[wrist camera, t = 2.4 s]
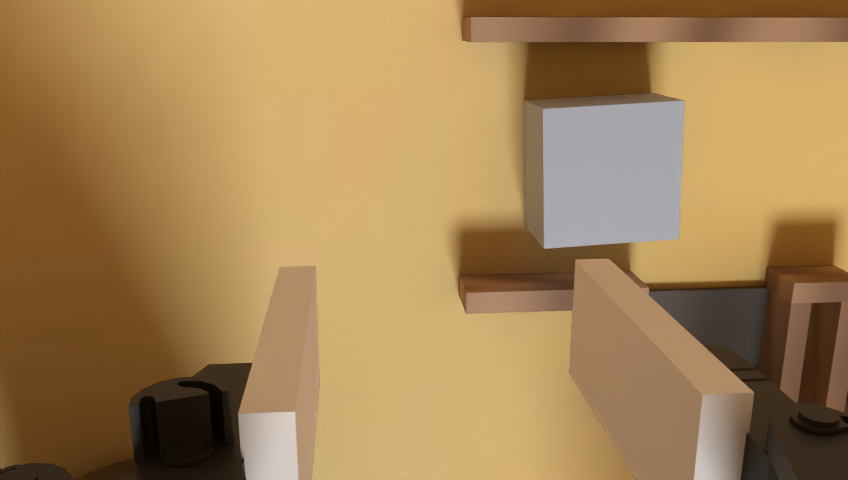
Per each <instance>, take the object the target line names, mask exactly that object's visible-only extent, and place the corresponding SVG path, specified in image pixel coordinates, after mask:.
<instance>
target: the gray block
mask: <svg viewBox="0 0 848 480" xmlns="http://www.w3.org/2000/svg"><path fill="white" fill-rule="evenodd" d="M523 104H524V177H525V227H526V228H527V229H528V231H529V232H530V233H531V234H532V235H533V236H534V238H535V239H536V240H537V241H538V242H539V243H540V245H541V246H542V247H543V248H544V249H548V248H562V247H575V246H589V245H603V244H616V243H630V242H644V241H658V240H671V239H679V224H680V199H681V175H682V150H683V125H684V100H680V99H676V98H671V97H667V96H663V95H659V94H654V93H637V94H620V95H603V96H586V97H569V98H552V99H534V100H523Z"/></svg>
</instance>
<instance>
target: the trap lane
mask: <svg viewBox="0 0 848 480" xmlns="http://www.w3.org/2000/svg"><path fill="white" fill-rule="evenodd" d="M462 41H467V42H848V18H756V17H463V40H462ZM623 272H624V273H625V274H626V275H627V276H628V277H629V278H631V279H632V280H633V281H634V282H635V283H636V284H637V285H638V286H639V287H640V288H641V289H642V290H644V291H645V292H646V293H647V294H648V295H649V296H650V297H651V298H652V299H653V300H654V301H655V302H657V303H658V304H659V305H660V306H661V307H662V308H663V309H664V310H665V311H666V312H667V313H668V314H670V315H671V316H672V317H673V318H674V319H675V320H676V321H677V322H678V323H679V324H680V325H681V326H683V327H684V328H685V329H686V330H687V331H688V332H689V333H690V334H691V335H692V336H693V337H694V338H696V339H697V340H698V341H699V342H700V343H701V344H702V345H711V344H717V345H719V346H721V347H723V348H726V349H728V350H730V351H732V352H734V353H737V354H739V355H741V356H742V357H743V358H744V359H745V360H746V361H748V362H749V363H750V364H751V365H752V366H753V367H754V368H755V371H756V370H758V371H759V372H760V373H761V374H763V375H764V376H765V377H766V378H767V381H771V382H772V383H773V384H774V385H775V386H777V387H778V388H779V389H780V390H781V391H782V392H784V393H785V394H786V395H787V396H788V397H789V398H791V399H792V400H793V401H794V402H795V403H808V404H814V405H820V406H826V407H829V408H832V409H835V410H838V411H841V412H844V413H846V414H848V273H847V272H846V271H844V270H842V269H840V268H838V267H836V266H801V267H767V273H766V281H765V286H761V287H727V288H693V289H659V290H649V287H648V286H647V285H646V284H645V283H644V282H642V281H641V280H640V279H639V278H638V277H637V276H636V275H635V274H633V273H632V272H631V271H623ZM574 277H575V273H543V274H506V275H469V276H459V297H460V299H461V302H462V304H463V307H464V309H465V312H466V314H473V313H505V312H537V311H569V310H573V295H574Z"/></svg>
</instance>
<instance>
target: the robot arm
mask: <svg viewBox="0 0 848 480" xmlns="http://www.w3.org/2000/svg"><path fill="white" fill-rule="evenodd" d="M569 373H570V375H571V377H572V378H573V380H574V381H575V383H576V385H577V386H578V388H579V389H580V391H581V393H582V394H583V396H584V398H585V399H586V401H587V402H588V404H589V406H590V407H591V409H592V410H593V412H594V414H595V415H596V417H597V418H598V420H599V422H600V423H601V425H602V427H603V428H604V430H605V431H606V433H607V435H608V436H609V438H610V439H611V441H612V443H613V444H614V446H615V447H616V449H617V451H618V452H619V454H620V455H621V457H622V459H623V460H624V462H625V464H626V465H627V467H628V468H629V470H630V472H631V473H632V475H633V476H634V478H635V480H848V414H846V413H844V412H841V411H838V410H835V409H832V408H829V407H826V406H820V405H814V404H808V403H795V402H794V401H793V400H792V399H791V398H789V397H788V396H787V395H786V394H785V393H784V392H782V391H781V390H780V389H779V388H778V387H777V386H775V385H774V384H773V383H772V382H771V381H767V378H766V377H765V376H764V375H763V374H761V373H760V372H759V371H758V370H756V371H755V368H754V367H753V366H752V365H751V364H750V363H749V362H748V361H746V360H745V359H744V358H743V357H742V356H741V355H739V354H737V353H734V352H732V351H730V350H728V349H726V348H723V347H721V346H719V345H717V344H711V345H702V344H701V343H700V342H699V341H698V340H697V339H696V338H694V337H693V336H692V335H691V334H690V333H689V332H688V331H687V330H686V329H685V328H684V327H683V326H681V325H680V324H679V323H678V322H677V321H676V320H675V319H674V318H673V317H672V316H671V315H670V314H668V313H667V312H666V311H665V310H664V309H663V308H662V307H661V306H660V305H659V304H658V303H657V302H655V301H654V300H653V299H652V298H651V297H650V296H649V295H648V294H647V293H646V292H645V291H644V290H642V289H641V288H640V287H639V286H638V285H637V284H636V283H635V282H634V281H633V280H632V279H631V278H629V277H628V276H627V275H626V274H625V273H624V272H623V271H622V270H621V269H620V268H619V267H617V266H616V265H615V264H614V263H613V262H612V261H611V260H610V259H575V277H574V295H573V313H572V331H571V349H570V368H569ZM319 386H320V374H319V347H318V320H317V293H316V266H299V267H280V268H279V271H278V275H277V279H276V282H275V286H274V289H273V293H272V296H271V300H270V303H269V307H268V310H267V314H266V317H265V321H264V324H263V328H262V331H261V335H260V338H259V342H258V345H257V349H256V352H255V356H254V359H253V363H237V364H209V365H207V366H206V367H205V368H203V369H202V370H201V371H199V372H198V373H197V374H195V375H194V376H193V377H185V378H175V379H171V380H167V381H162V382H158V383H156V384H154V385H151V386H149V387H147V388H144V389H142V390H141V391H140V392H139V393H137V394H136V395H135V396H134V397H132V399H131V402H130V405H129V414H130V423H131V432H132V441H133V450H134V460H131V461H127V462H122V463H118V464H115V465H111V466H108V467H106V468H103V469H100V470H98V471H95V472H93V473H91V474H89V475H87V476H85V477H83V478H81V479H79V480H312V470H313V458H314V446H315V434H316V422H317V410H318V398H319ZM0 480H72V476H71V475H70V474H69V473H68V472H67V470H66V469H65V468H62V467H59V466H56V465H53V464H40V463H31V464H25V465H13V466H9V467H5V469H0Z"/></svg>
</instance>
